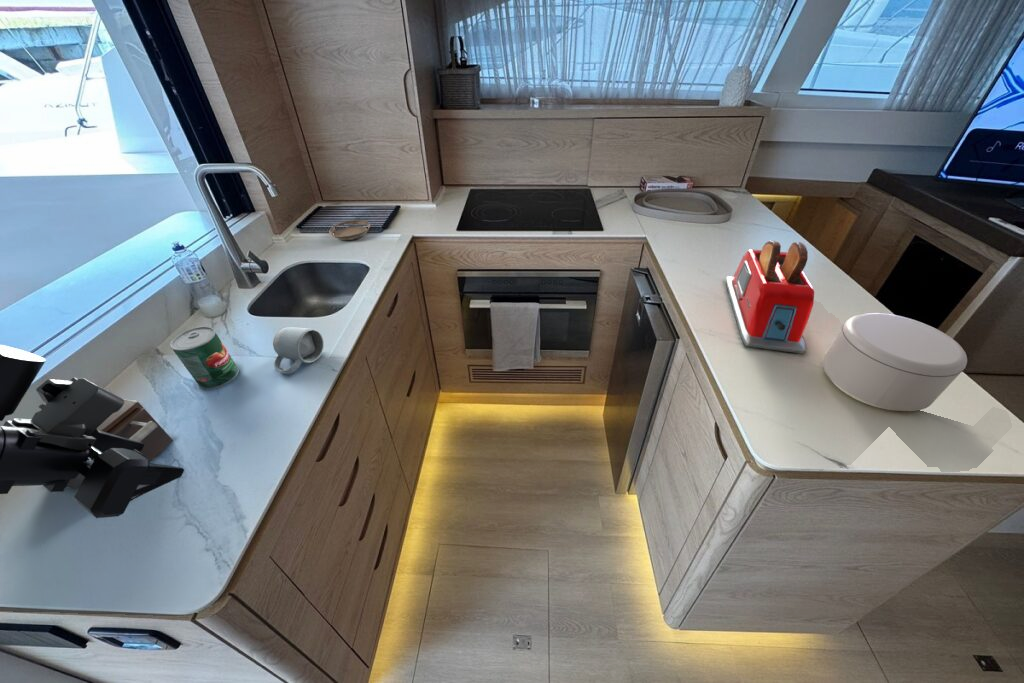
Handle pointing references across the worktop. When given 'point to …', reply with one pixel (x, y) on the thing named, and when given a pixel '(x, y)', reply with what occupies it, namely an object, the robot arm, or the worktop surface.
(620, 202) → the worktop surface
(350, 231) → the saucer
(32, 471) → the robot arm
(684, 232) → the worktop surface
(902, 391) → the container
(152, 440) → the drawer
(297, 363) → the ceramic mug
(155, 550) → the worktop surface
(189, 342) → the canned tomato
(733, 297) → the toaster
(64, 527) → the worktop surface
